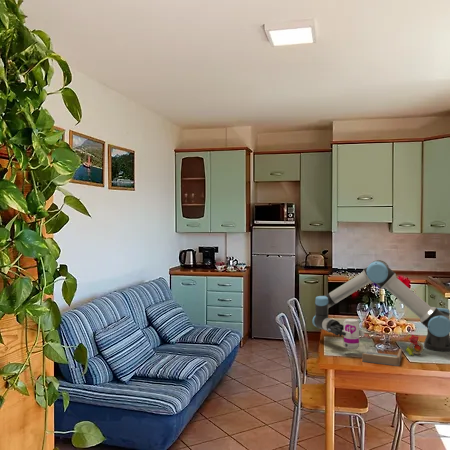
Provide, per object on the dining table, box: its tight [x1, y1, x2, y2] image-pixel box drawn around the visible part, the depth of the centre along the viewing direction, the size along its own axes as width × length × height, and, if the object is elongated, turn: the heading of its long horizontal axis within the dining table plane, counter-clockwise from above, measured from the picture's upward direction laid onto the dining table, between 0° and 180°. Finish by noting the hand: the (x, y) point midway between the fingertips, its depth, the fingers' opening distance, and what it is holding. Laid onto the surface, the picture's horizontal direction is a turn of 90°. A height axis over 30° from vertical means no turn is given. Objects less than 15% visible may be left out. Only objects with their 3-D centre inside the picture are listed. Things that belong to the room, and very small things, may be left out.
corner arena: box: [361, 348, 403, 367], centre depth 238 cm, size 18×18×4 cm
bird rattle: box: [405, 334, 425, 357], centre depth 245 cm, size 6×11×9 cm
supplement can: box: [343, 318, 360, 350], centre depth 246 cm, size 8×8×15 cm
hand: (357, 334), depth 241 cm, fingers closed on supplement can, 8 cm apart
